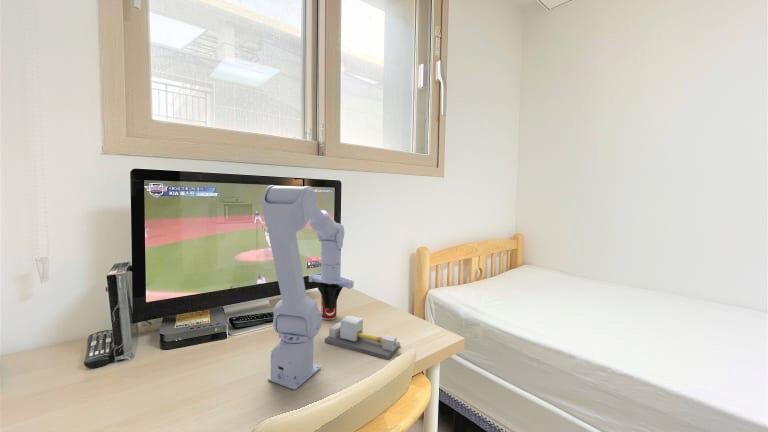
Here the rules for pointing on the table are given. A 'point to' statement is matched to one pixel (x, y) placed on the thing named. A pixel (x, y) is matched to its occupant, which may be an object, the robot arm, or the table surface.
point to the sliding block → (351, 327)
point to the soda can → (328, 311)
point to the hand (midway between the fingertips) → (330, 308)
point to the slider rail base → (365, 343)
